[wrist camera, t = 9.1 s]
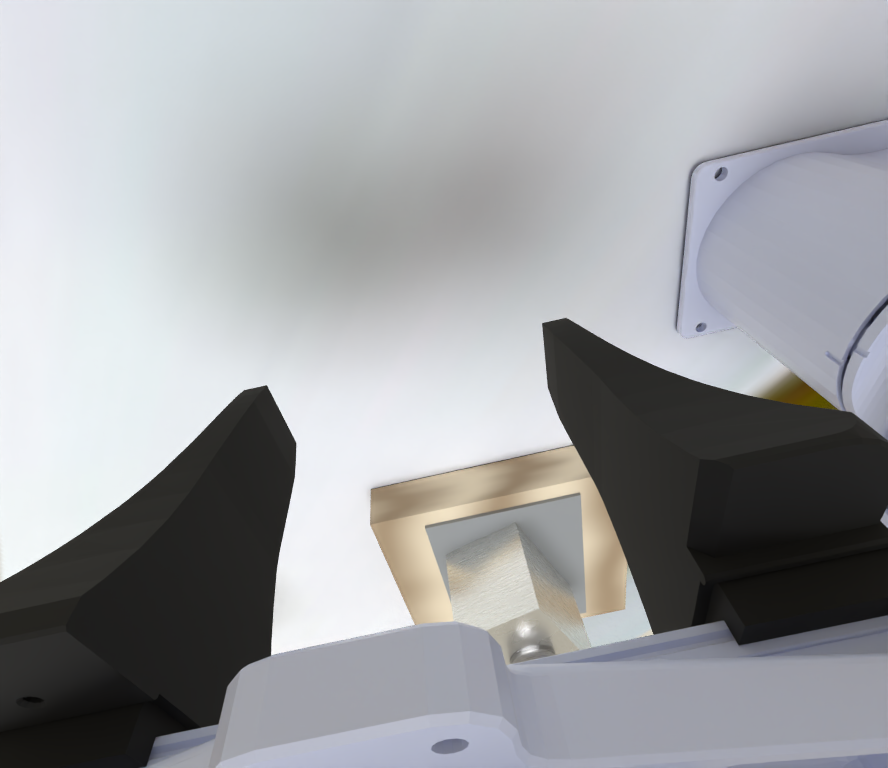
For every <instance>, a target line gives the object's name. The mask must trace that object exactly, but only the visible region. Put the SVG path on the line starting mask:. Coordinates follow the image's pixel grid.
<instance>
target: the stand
mask: <svg viewBox="0 0 888 768" xmlns="http://www.w3.org/2000/svg"><path fill="white" fill-rule="evenodd" d="M514 522H516V523H517V525H518V526H519V527H520V528H521V529H522V530H523V532H524V533H525V534H526V535H527V536H528V537H529V539H530V540H531V541H532V542H533V543H534V545H535V546H536V547H537V548H538V549H539V550H540V552H541V553H542V554H543V555H544V556H545V557H546V559H547V560H548V561H549V562H550V563H551V564H552V566H553V567H554V568H555V569H556V570H557V572H558V573H559V574H560V575H561V576H562V577H563V579H564V580H565V581H566V582H567V583H568V584H569V586H570V587H571V589H572V592H573V595H574V598H575V601H576V604H577V607H578V609H579V612H580V615H581V618H585V617H590V616H594V615H599V614H604V613H609V612H614V611H619V610H623V609H625V599H626V574H627V560H626V558H625V555H624V553H623V550H622V547H621V545H620V542H619V540H618V537H617V535H616V532H615V530H614V527H613V525H612V522H611V520H610V517H609V515H608V512H607V510H606V507H605V505H604V502H603V500H602V498H601V496H600V494H599V492H598V489H597V487H596V485H595V483H594V481H593V480H592V478H591V476H590V474H589V472H588V470H587V469H586V467H585V465H584V463H583V461H582V459H581V458H580V456H579V454H578V452H577V450H576V448H575V447H574V445H573V446H568V447H564V448H559V449H555V450H550V451H545V452H541V453H536V454H532V455H527V456H522V457H518V458H513V459H509V460H504V461H500V462H495V463H490V464H486V465H481V466H477V467H472V468H467V469H463V470H458V471H454V472H449V473H444V474H440V475H435V476H431V477H426V478H421V479H417V480H412V481H408V482H403V483H398V484H394V485H389V486H385V487H380V488H375V489H371V514H370V525H371V527H372V530H373V532H374V534H375V536H376V539H377V541H378V543H379V545H380V548H381V550H382V552H383V554H384V556H385V559H386V561H387V563H388V565H389V568H390V570H391V572H392V574H393V577H394V579H395V581H396V583H397V585H398V588H399V590H400V592H401V594H402V597H403V599H404V601H405V603H406V606H407V608H408V610H409V612H410V614H411V617H412V619H413V621H414V623H415V625H418V624H423V623H437V622H452V621H454V620H453V612H452V604H451V596H450V588H449V580H448V572H447V564H446V556H445V555H446V554H448V553H450V552H452V551H454V550H456V549H459V548H461V547H463V546H465V545H467V544H469V543H471V542H473V541H476V540H478V539H480V538H482V537H484V536H486V535H488V534H491V533H493V532H495V531H497V530H499V529H501V528H503V527H506V526H508V525H510V524H512V523H514Z"/></svg>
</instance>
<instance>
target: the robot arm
mask: <svg viewBox="0 0 888 768" xmlns="http://www.w3.org/2000/svg"><path fill="white" fill-rule="evenodd" d="M721 167H722V172H721V175H720V176H719V177H718V178H716V179H715V177H714V175H715V173H716V171H717V170H718V169H719V168H721ZM700 323H702V325H701V326H700V327H698V328H696V327H697V325H698V324H700ZM542 326H543V337H544V349H545V360H546V371H547V382H548V389H549V392H550V394H551V397H552V400H553V403H554V405H555V408H556V411H557V413H558V416H559V418H560V420H561V422H562V424H563V426H564V428H565V430H566V432H567V434H568V435H569V437H570V439H571V441H572V443H573V445H574V447H575V448H576V450H577V452H578V454H579V456H580V458H581V459H582V461H583V463H584V465H585V467H586V469H587V470H588V472H589V474H590V476H591V478H592V480H593V481H594V483H595V485H596V487H597V489H598V492H599V494H600V496H601V498H602V500H603V502H604V505H605V507H606V510H607V512H608V515H609V517H610V520H611V522H612V525H613V527H614V530H615V532H616V535H617V537H618V540H619V542H620V545H621V547H622V550H623V553H624V555H625V558H626V560H627V563H628V565H629V568H630V571H631V573H632V576H633V579H634V582H635V584H636V587H637V590H638V592H639V595H640V598H641V601H642V603H643V606H644V609H645V612H646V614H647V617H648V620H649V623H650V626H651V629H652V632H653V634H654V635H650V636H645V637H640V638H636V639H631V640H626V641H621V642H616V643H611V644H606V645H601V646H597V647H592V648H587V649H582V650H577V651H572V652H567V653H563V654H558V655H553V656H548V657H543V658H538V659H533V660H529V661H524V662H519V663H514V664H509V665H506V663H505V659H504V656H503V652H502V648H501V646H500V645H499V644H498V643H497V641H496V640H495V639H494V638H493V637H492V636H491V635H490V634H489V633H488V632H487V631H485V630H484V629H482V628H479V627H475V626H472V625H468V624H464V623H460V622H456V621H452V622H437V623H423V624H418V625H413V626H408V627H404V628H399V629H394V630H389V631H384V632H380V633H375V634H370V635H365V636H360V637H356V638H351V639H346V640H341V641H337V642H332V643H327V644H322V645H317V646H313V647H308V648H303V649H298V650H294V651H289V652H284V653H279V654H275V655H272V656H271V640H272V623H273V607H274V595H275V583H276V572H277V564H278V558H279V552H280V547H281V542H282V537H283V532H284V528H285V523H286V518H287V513H288V508H289V504H290V499H291V493H292V488H293V483H294V478H295V465H296V442H295V440H294V438H293V436H292V434H291V432H290V430H289V428H288V426H287V424H286V422H285V420H284V418H283V416H282V414H281V412H280V410H279V408H278V406H277V404H276V402H275V400H274V398H273V396H272V394H271V393H270V391H269V389H268V387H267V385H266V386H261V387H257V388H253V389H248V390H244V391H243V392H242V393H240V394H239V395H238V396H237V397H236V398H235V399H234V400H233V401H232V402H231V403H230V404H229V405H228V406H227V407H226V408H225V409H224V410H223V411H222V412H221V413H220V414H219V415H218V416H217V417H216V418H215V419H214V420H213V421H212V422H211V423H210V424H209V425H208V426H207V427H206V428H205V430H204V431H203V432H202V433H201V434H200V435H199V436H198V437H197V438H196V439H195V440H194V441H193V442H192V443H191V444H190V445H189V446H188V447H187V448H186V449H185V450H184V451H183V452H181V453H180V454H179V455H178V456H177V457H176V458H175V459H174V460H173V461H172V462H171V463H170V464H169V465H168V466H167V467H166V468H165V469H164V470H163V471H162V472H160V473H159V474H158V475H157V476H156V477H155V478H154V479H152V480H151V481H150V482H149V483H148V484H147V485H145V486H144V487H143V488H142V489H141V490H139V491H138V492H137V493H136V494H134V495H133V496H132V497H131V498H129V499H128V500H127V501H126V502H124V503H123V504H122V505H120V506H119V507H118V508H116V509H115V510H114V511H112V512H111V513H109V514H108V515H107V516H105V517H104V518H102V519H101V520H100V521H98V522H97V523H95V524H94V525H93V526H91V527H90V528H88V529H87V530H86V531H84V532H83V533H81V534H80V535H78V536H77V537H75V538H74V539H72V540H71V541H69V542H68V543H66V544H64V545H63V546H61V547H60V548H58V549H57V550H55V551H53V552H52V553H50V554H48V555H47V556H45V557H44V558H42V559H40V560H39V561H37V562H35V563H34V564H32V565H30V566H29V567H27V568H25V569H23V570H22V571H20V572H18V573H17V574H15V575H13V576H11V577H9V578H7V579H5V580H4V581H2V582H0V768H888V120H884V121H879V122H875V123H871V124H866V125H862V126H858V127H853V128H849V129H845V130H841V131H836V132H832V133H828V134H823V135H819V136H815V137H810V138H806V139H802V140H797V141H793V142H789V143H785V144H780V145H776V146H772V147H767V148H763V149H759V150H754V151H750V152H746V153H741V154H737V155H733V156H729V157H724V158H720V159H716V160H711V161H707V162H704V163H702V164H700V165H699V166H697V167H696V169H695V170H694V172H693V174H692V177H691V187H690V197H689V207H688V218H687V228H686V238H685V249H684V259H683V270H682V280H681V290H680V301H679V311H678V321H677V332H678V333H679V334H680V335H681V336H682V337H683V338H692V337H697V336H701V335H706V334H710V333H715V332H719V331H724V330H728V329H733V328H737V327H738V328H739V329H740V330H741V331H743V332H744V333H745V334H746V335H748V336H749V337H750V338H751V339H752V340H754V341H755V342H756V343H757V344H759V345H760V346H761V347H762V348H764V349H765V350H766V351H767V352H768V353H770V354H771V355H772V356H773V357H775V358H776V359H777V360H778V361H780V362H781V363H782V364H783V365H784V366H786V367H787V368H788V369H789V370H791V371H792V372H793V373H794V374H796V375H797V376H798V377H799V378H800V379H802V380H803V381H804V382H805V383H807V384H808V385H809V386H810V387H812V388H813V389H814V390H815V391H816V392H818V393H819V394H820V395H821V396H823V397H824V398H825V399H826V400H828V401H829V402H830V403H831V404H832V405H834V406H835V407H836V408H837V409H839V410H832V409H825V408H817V407H809V406H802V405H794V404H788V403H783V402H778V401H773V400H768V399H762V398H757V397H753V396H748V395H744V394H740V393H736V392H732V391H728V390H725V389H721V388H717V387H714V386H710V385H706V384H703V383H700V382H697V381H694V380H691V379H688V378H685V377H683V376H680V375H677V374H674V373H672V372H669V371H666V370H664V369H661V368H659V367H657V366H654V365H652V364H650V363H648V362H646V361H643V360H641V359H639V358H637V357H635V356H633V355H631V354H629V353H627V352H625V351H623V350H621V349H619V348H617V347H615V346H614V345H612V344H610V343H608V342H606V341H605V340H603V339H601V338H599V337H598V336H596V335H594V334H593V333H591V332H589V331H588V330H586V329H584V328H583V327H581V326H579V325H578V324H576V323H574V322H572V321H571V320H569V319H567V318H564V319H559V320H555V321H550V322H546V323H542Z"/></svg>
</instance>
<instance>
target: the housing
mask: <svg viewBox="0 0 888 768" xmlns="http://www.w3.org/2000/svg"><path fill="white" fill-rule="evenodd" d="M445 556H446V564H447V572H448V580H449V588H450V596H451V604H452V612H453V620H454V621H456V622H460V623H464V624H468V625H472V626H475V627H479V628H482V629H484V630H485V631H487V632H488V633H489V634H490V635H491V636H492V637H493V638H494V639H495V640H496V641H497V643H498V644H499V645H500V646H501V648H502V652H503V656H504V659H505V663H506V665H509V664H514V663H519V662H524V661H529V660H533V659H538V658H543V657H548V656H553V655H558V654H563V653H567V652H572V651H577V650H582V649H587V648H592V647H591V644H590V641H589V638H588V636H587V633H586V630H585V627H584V624H583V621H582V618H581V615H580V612H579V609H578V607H577V604H576V601H575V598H574V595H573V592H572V589H571V587H570V586H569V584H568V583H567V582H566V581H565V580H564V579H563V577H562V576H561V575H560V574H559V573H558V572H557V570H556V569H555V568H554V567H553V566H552V564H551V563H550V562H549V561H548V560H547V559H546V557H545V556H544V555H543V554H542V553H541V552H540V550H539V549H538V548H537V547H536V546H535V545H534V543H533V542H532V541H531V540H530V539H529V537H528V536H527V535H526V534H525V533H524V532H523V530H522V529H521V528H520V527H519V526H518V525H517V523H516V522H514V523H512V524H510V525H508V526H506V527H503V528H501V529H499V530H497V531H495V532H493V533H491V534H488V535H486V536H484V537H482V538H480V539H478V540H476V541H473V542H471V543H469V544H467V545H465V546H463V547H461V548H459V549H456V550H454V551H452V552H450V553H448V554H446V555H445Z"/></svg>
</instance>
